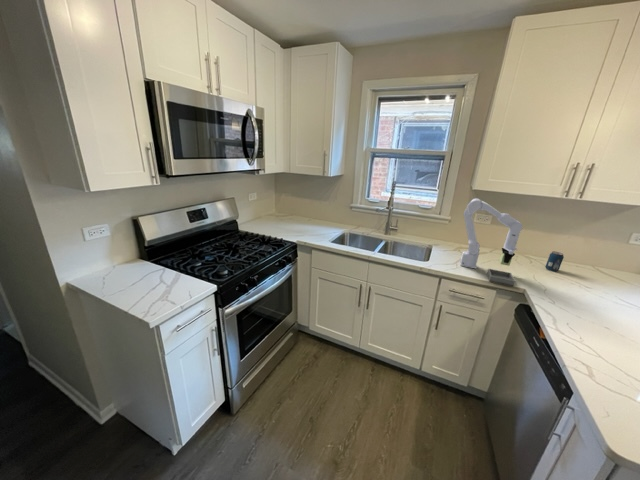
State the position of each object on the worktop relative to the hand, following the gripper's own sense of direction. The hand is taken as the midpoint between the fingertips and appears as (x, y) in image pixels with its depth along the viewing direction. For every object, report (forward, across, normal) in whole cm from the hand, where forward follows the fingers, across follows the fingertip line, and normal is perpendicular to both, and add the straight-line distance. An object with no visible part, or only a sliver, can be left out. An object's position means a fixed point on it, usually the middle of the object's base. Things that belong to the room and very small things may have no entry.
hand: (505, 261), depth 165 cm
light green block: (+2, 0, 0) cm, 2 cm away
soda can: (+8, +24, -32) cm, 41 cm away
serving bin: (+8, -12, +3) cm, 15 cm away
